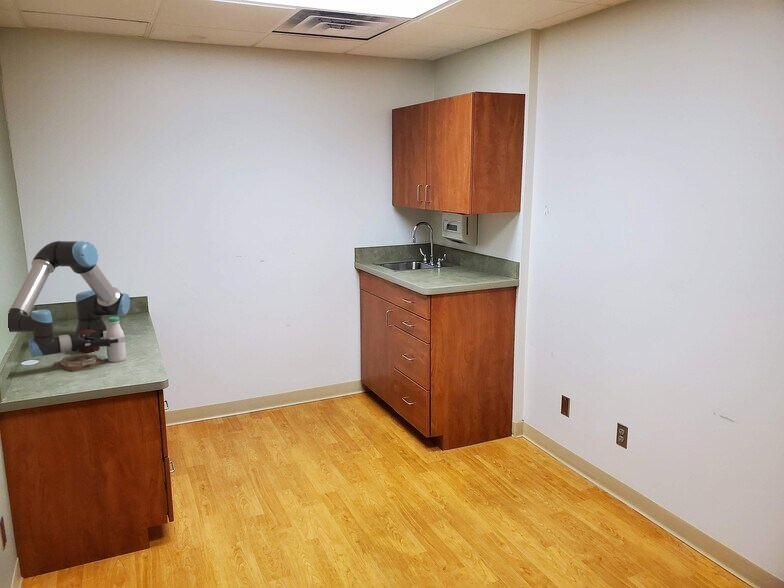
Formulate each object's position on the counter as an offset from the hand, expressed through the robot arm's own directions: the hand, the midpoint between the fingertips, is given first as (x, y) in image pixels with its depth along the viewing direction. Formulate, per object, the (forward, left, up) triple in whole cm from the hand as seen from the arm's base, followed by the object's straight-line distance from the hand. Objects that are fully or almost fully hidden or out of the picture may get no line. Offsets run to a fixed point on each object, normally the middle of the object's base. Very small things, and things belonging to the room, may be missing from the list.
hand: (122, 335), depth 277 cm
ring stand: (+16, -9, -11) cm, 21 cm away
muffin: (+2, -25, -11) cm, 28 cm away
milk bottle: (+3, -1, -11) cm, 12 cm away
